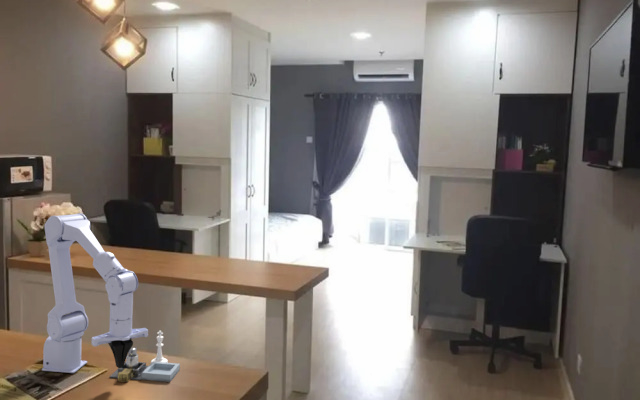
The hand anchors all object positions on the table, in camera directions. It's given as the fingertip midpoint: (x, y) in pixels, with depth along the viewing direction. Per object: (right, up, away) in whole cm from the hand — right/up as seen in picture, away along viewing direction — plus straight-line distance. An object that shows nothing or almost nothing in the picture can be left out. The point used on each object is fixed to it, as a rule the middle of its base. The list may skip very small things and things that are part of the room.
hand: (119, 366), depth 147 cm
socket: (0, -4, +9) cm, 10 cm away
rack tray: (+9, -5, +8) cm, 13 cm away
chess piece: (+6, -4, +16) cm, 18 cm away
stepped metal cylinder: (0, -4, +9) cm, 10 cm away
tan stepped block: (0, -5, +5) cm, 7 cm away
